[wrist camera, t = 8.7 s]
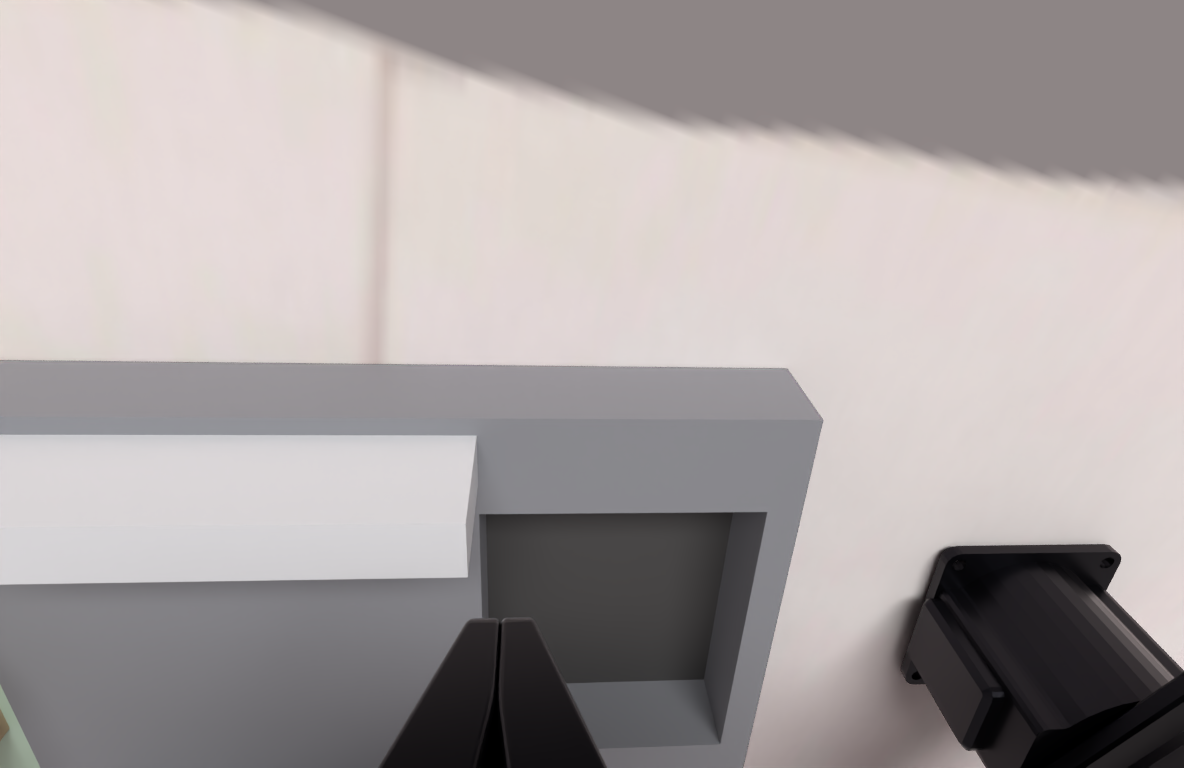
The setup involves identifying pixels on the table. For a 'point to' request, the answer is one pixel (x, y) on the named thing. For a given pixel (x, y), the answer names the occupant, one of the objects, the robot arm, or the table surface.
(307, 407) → the stepped grey tray
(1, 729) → the maple block
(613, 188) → the table surface
